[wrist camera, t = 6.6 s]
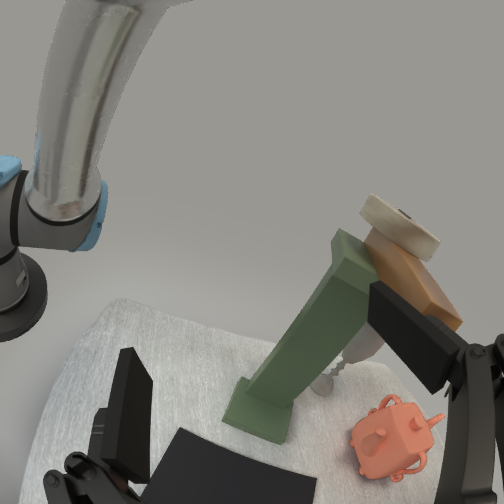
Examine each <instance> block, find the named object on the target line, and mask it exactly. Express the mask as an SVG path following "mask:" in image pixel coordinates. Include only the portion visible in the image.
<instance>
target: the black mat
mask: <svg viewBox="0 0 504 504" xmlns="http://www.w3.org/2000/svg"><path fill="white" fill-rule="evenodd" d="M316 480H317V478H313V477H309V476H305V475H301V474H297V473H294V472H290V471H287V470H283V469H280V468H277V467H274V466H271V465H268V464H265V463H262V462H259V461H256V460H253V459H250V458H248V457H245V456H242V455H240V454H237V453H235V452H232V451H230V450H228V449H225V448H223V447H221V446H218V445H216V444H214V443H212V442H209V441H207V440H205V439H203V438H201V437H199V436H197V435H195V434H193V433H191V432H189V431H187V430H185V429H183V428H181V427H179V429H178V431H177V433H176V434H175V436H174V438H173V440H172V442H171V443H170V445H169V447H168V449H167V451H166V452H165V454H164V456H163V458H162V459H161V461H160V463H159V465H158V467H157V468H156V470H155V472H154V474H153V475H152V477H151V479H150V484H147V486H146V488H145V489H144V491H143V493H142V495H141V496H140V498H141V499H142V500H143V501H144V502H145V503H146V504H313V498H314V492H315V486H316Z"/></svg>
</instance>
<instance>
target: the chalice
mask: <svg viewBox="0 0 504 504" xmlns="http://www.w3.org/2000/svg"><path fill="white" fill-rule="evenodd" d="M384 343H385V341H384V340H383V339H382V338H381V336H380V335H379V334H378V333H377V332H376V331H375V330H374V329H373V328H372V327H371V326H370V325H369V323H368V322H367V321H366V323H365V324H364V325H363V326H362V328H361V329H360V330H359V331H358V332H357V334H356V335H355V336H354V337H353V338H352V339H351V341H350V342H349V343H348V344H347V345H346V346H345V347H344V349H343V352H342V357H343V361H341V362H340V363H337V366H336V368H334V369H333V368H332V369H331V373H330V374H329V375H327V374H320V375H319V376H318V377H317V378H316V379H315V380H314V381H313V382H312V383H311V384H310V385H311V388H312V389H313V391H314V392H316V393H317V394H319V395H321V396H327V395H329V394H330V392H331V389H332V387H333V380H332V378H333V377H334V376H338V372H339V371H340V370H342V369H344V366H345V364H346V363H349V364H354V363H357V362H360V361H363V360H365V359H367V358H369V357H371V356H373V355H374V354H375V353H376V352H377V351H378V350H379V349H380V348H381V346H382V345H383V344H384Z"/></svg>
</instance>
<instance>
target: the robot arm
mask: <svg viewBox="0 0 504 504" xmlns="http://www.w3.org/2000/svg"><path fill="white" fill-rule="evenodd" d="M188 1H192V0H66V1H65V4H64V6H63V9H62V11H61V14H60V17H59V20H58V23H57V26H56V29H55V32H54V35H53V39H52V42H51V46H50V50H49V53H48V57H47V62H46V66H45V71H44V76H43V80H42V86H41V92H40V99H39V106H38V113H37V123H36V135H35V155H34V156H35V157H34V165H33V166H32V167H31V169H30V171H26V170H21V169H22V164H21V160H20V159H19V158H18V157H14V156H9V155H2V156H0V315H2V314H5V313H8V312H10V311H12V310H14V309H15V308H17V307H18V306H19V305H20V304H21V303H22V302H23V301H24V299H25V298H26V296H27V294H28V290H29V275H28V271H27V268H26V265H25V263H24V261H23V258H22V256H21V253H20V251H19V248H18V246H23V247H33V248H46V249H57V250H68V251H70V252H76V251H88V250H91V249H92V248H93V247H94V246H95V244H96V243H97V241H98V238H99V236H100V233H101V229H102V223H103V221H104V218H105V212H106V207H107V198H108V186H107V184H106V182H105V181H103V180H101V176H100V173H99V171H98V169H97V163H98V160H99V156H100V153H101V150H102V147H103V144H104V141H105V137H106V134H107V132H108V129H109V126H110V123H111V121H112V118H113V115H114V113H115V110H116V107H117V105H118V102H119V100H120V98H121V95H122V93H123V91H124V88H125V86H126V84H127V81H128V79H129V77H130V75H131V73H132V71H133V69H134V66H135V65H136V63H137V61H138V58H139V56H140V55H141V53H142V51H143V49H144V47H145V45H146V43H147V42H148V40H149V38H150V36H151V34H152V33H153V31H154V29H155V28H156V26H157V24H158V23H159V21H160V19H161V18H162V16H163V15H164V13H165V11H166V10H167V9H168V8H170V7H171V6H175V5H178V4H181V3H184V2H188ZM367 322H368V323H369V325H370V326H371V327H372V328H373V329H374V330H375V331H376V332H377V333H378V334H379V335H380V336H381V338H382V339H383V340H384V341H385V342H386V343H387V344H388V345H389V346H390V347H391V349H392V350H393V351H394V352H395V353H396V354H397V355H398V356H399V357H400V359H401V360H402V361H403V362H404V363H405V364H406V365H407V366H408V368H409V369H410V370H411V371H412V372H413V373H414V374H415V375H416V377H417V378H418V379H419V380H420V381H421V382H422V384H423V385H424V386H425V387H426V388H427V389H428V391H429V392H430V393H431V394H432V395H433V394H434V393H436V392H437V391H439V390H440V389H442V388H443V387H444V385H445V383H446V381H447V380H448V381H449V382H450V385H449V387H448V389H447V391H446V393H445V396H444V397H446V396H447V394H448V393H449V402H448V421H447V432H446V442H445V450H444V457H443V463H442V469H441V474H440V479H439V484H438V489H437V493H436V497H435V501H434V504H497V495H496V493H494V492H493V491H492V482H493V473H494V462H495V437H496V442H497V447H498V451H499V458H500V464H501V471H502V479H503V490H504V377H503V376H502V372H503V374H504V334H500V335H498V336H497V338H496V340H495V343H494V344H491V345H488V346H485V347H484V346H482V345H480V344H476V343H475V344H470V345H469V344H468V343H467V342H466V341H465V340H463V339H462V338H461V337H460V336H459V335H458V334H456V333H455V332H454V331H453V330H452V329H450V328H449V327H448V326H447V325H446V324H444V322H442V321H441V320H440V319H439V318H437V317H435V316H432V315H430V314H429V315H427V316H424V315H423V314H421V313H420V312H419V311H418V310H417V309H416V308H414V307H413V306H412V305H411V304H410V303H408V302H407V301H406V300H405V299H403V298H402V297H401V296H400V295H399V294H397V293H396V292H395V291H394V290H392V289H391V288H390V287H389V286H387V285H386V284H385V283H384V282H382V281H381V280H379V281H376V282H374V283H371V284H370V288H369V305H368V319H367ZM152 389H153V380H152V379H151V377H150V375H149V374H148V372H147V371H146V369H145V367H144V365H143V364H142V362H141V360H140V358H139V357H138V355H137V353H136V351H135V350H134V348H133V347H130V348H125V349H121V350H120V354H119V358H118V362H117V366H116V370H115V374H114V379H113V383H112V388H111V392H110V397H109V402H108V408H99V410H98V412H97V413H96V415H95V417H94V421H93V427H92V431H91V433H92V434H91V437H90V443H89V449H88V455H85V454H84V453H82V452H73V453H71V454H69V455H68V456H67V458H66V460H65V463H64V468H65V471H66V472H67V474H62V473H61V472H59V471H57V470H50V471H48V472H47V473H46V474H45V475H44V479H43V485H44V489H45V493H46V497H47V500H48V504H146V503H145V502H144V501H143V500H142V499H141V498H140V497H139V496H138V495H137V494H136V493H135V492H134V491H133V489H132V488H131V487H129V486H128V479H129V480H130V481H131V482H133V483H135V484H150V425H151V404H152Z"/></svg>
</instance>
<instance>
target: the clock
mask: <svg viewBox="0 0 504 504" xmlns="http://www.w3.org/2000/svg"><path fill="white" fill-rule="evenodd" d="M360 215H361V216H362V217H363V218H364V219H365V220H366V221H367V222H368V223H369V224H370V225H372V226H373V228H372V230H371V231H370V233H369V235H368V236H367V238H366V239H365V241H364V243H365V246H366V248H367V250H368V253H369V255H370V258H371V260H372V262H373V265H374V267H375V270H376V272H377V275H378V277H379V280H381V281H382V282H384V283H385V284H386V285H387V286H389V287H390V288H391V289H392V290H394V291H395V292H396V293H397V294H399V295H400V296H401V297H402V298H403V299H405V300H406V301H407V302H408V303H410V304H411V305H412V306H413V307H414V308H416V309H417V310H418V311H419V312H420V313H421V314H423V315H424V316H427V315H429V314H430V315H432V316H435V317H437V318H439V319H440V320H441V321H442V322H444V324H446V325H447V326H448V327H449V328H450V329H452V330H453V331H454V332H455V331H456V330H457V329H458V327H459V326H460V325H461V324H462V322H463V321H462V319H461V318H460V316H459V315H458V313H457V311H456V310H455V308H454V307H453V305H452V304H451V303H450V301H449V300H448V298H447V297H446V295H445V294H444V292H443V291H442V290H441V288H440V287H439V285H438V284H437V283H436V282H435V280H434V279H433V277H432V276H431V275H430V273H429V272H428V271H427V269H426V268H425V267H424V265H423V264H422V263H421V261H420V260H419V259H421V260H423V261H425V262H428V261H429V260H430V258H431V257H432V256H433V254H434V252H435V251H436V249H437V248H438V246H439V244H440V243H441V242H440V241H439V240H438V239H437V238H436V237H435V236H434V235H432V234H431V233H430V232H429V231H427V230H426V229H425V228H423V227H422V226H421V225H420V224H418V223H417V222H416V221H414V220H413V219H411V218H410V217H409V216H408V215H406V214H405V213H404V212H402V211H401V210H400V209H399V210H398V209H396V208H395V207H394V206H392V205H391V204H389V203H388V202H386V201H384V200H383V199H381V198H379V197H378V196H376V195H374V194H372V193H371V194H370V195H369V197H368V199H367V200H366V202H365V204H364V206H363V208H362V210H361V211H360ZM418 258H419V259H418Z"/></svg>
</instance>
